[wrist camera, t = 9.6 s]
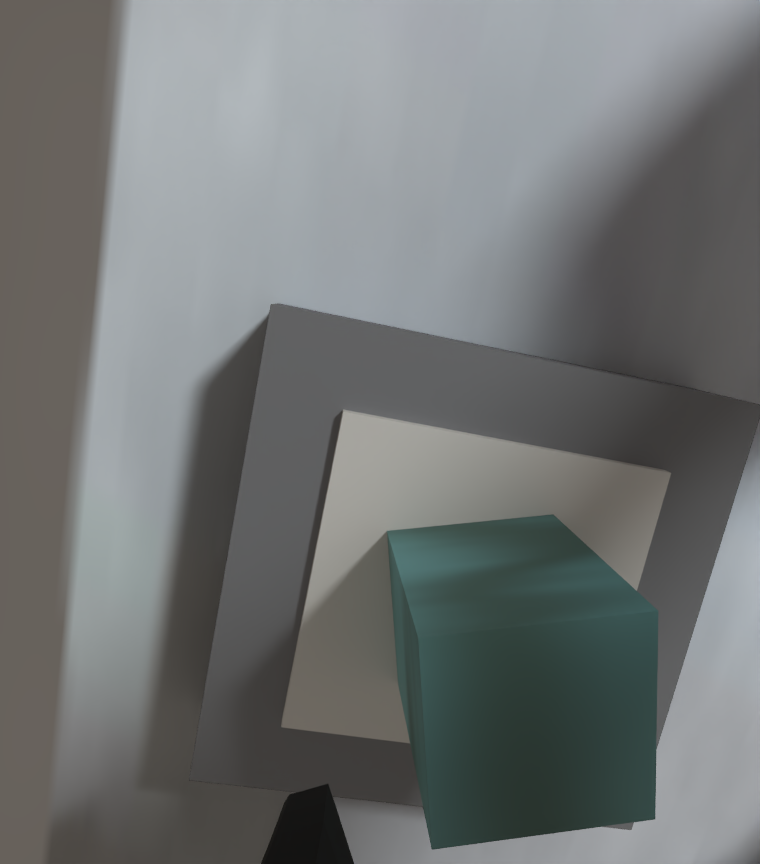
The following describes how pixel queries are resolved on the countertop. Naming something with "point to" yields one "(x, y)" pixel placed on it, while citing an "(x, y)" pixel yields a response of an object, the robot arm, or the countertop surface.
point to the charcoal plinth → (431, 506)
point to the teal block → (522, 680)
